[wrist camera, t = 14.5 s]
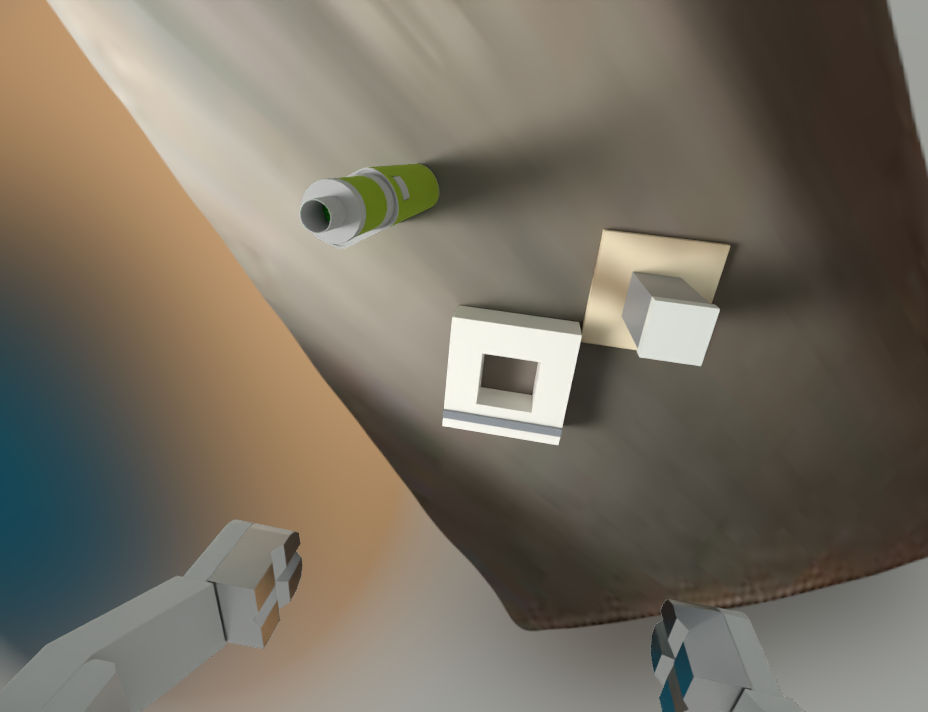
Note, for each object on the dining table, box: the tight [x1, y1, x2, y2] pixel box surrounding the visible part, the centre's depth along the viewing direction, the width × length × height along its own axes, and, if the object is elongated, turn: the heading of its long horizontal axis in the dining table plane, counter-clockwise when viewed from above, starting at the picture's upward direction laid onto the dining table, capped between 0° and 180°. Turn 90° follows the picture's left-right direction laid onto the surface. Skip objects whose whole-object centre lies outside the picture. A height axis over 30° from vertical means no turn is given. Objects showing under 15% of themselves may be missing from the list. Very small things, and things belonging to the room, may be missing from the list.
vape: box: [300, 164, 439, 249], centre depth 31 cm, size 4×6×20 cm, turn 114°
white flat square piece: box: [442, 305, 582, 445], centre depth 44 cm, size 11×11×4 cm
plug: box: [622, 272, 720, 366], centre depth 36 cm, size 4×4×9 cm
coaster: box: [581, 229, 730, 350], centre depth 40 cm, size 10×10×1 cm
